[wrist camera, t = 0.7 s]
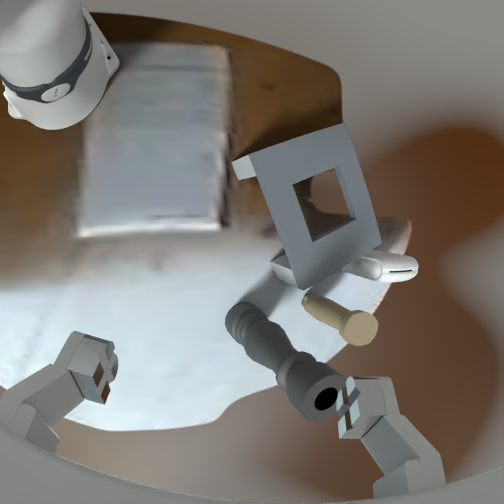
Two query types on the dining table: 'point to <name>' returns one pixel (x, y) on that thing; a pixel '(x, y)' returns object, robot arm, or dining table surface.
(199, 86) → the dining table surface
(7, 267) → the dining table surface
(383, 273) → the photo printer
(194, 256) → the dining table surface
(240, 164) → the hole stand
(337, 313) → the handle
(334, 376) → the candle holder
